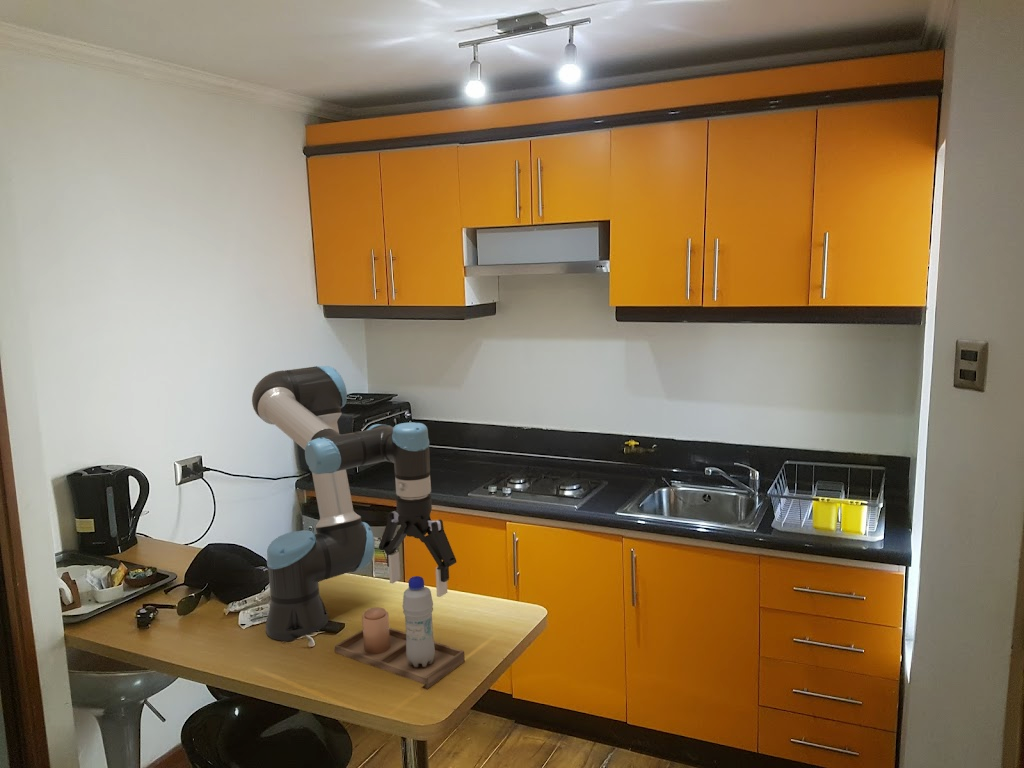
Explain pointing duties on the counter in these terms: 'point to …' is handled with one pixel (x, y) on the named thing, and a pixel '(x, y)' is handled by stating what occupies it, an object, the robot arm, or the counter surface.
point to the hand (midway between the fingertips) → (418, 587)
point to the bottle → (418, 623)
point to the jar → (376, 630)
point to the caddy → (403, 658)
